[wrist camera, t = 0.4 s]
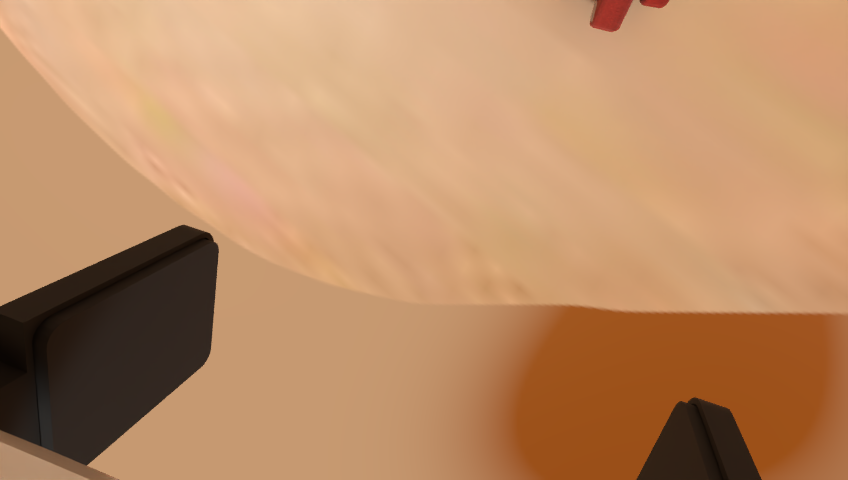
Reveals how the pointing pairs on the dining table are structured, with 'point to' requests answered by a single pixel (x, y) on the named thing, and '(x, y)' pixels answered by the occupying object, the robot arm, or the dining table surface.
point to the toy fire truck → (616, 12)
